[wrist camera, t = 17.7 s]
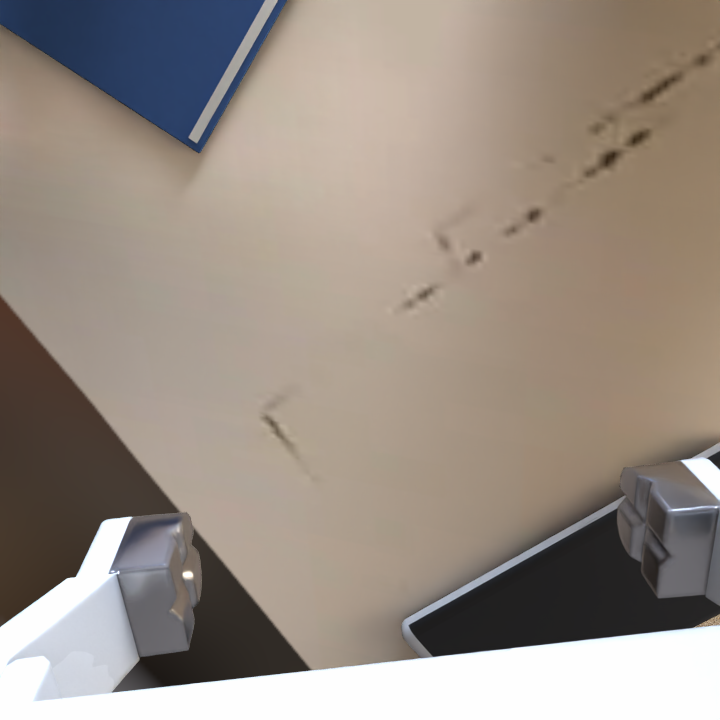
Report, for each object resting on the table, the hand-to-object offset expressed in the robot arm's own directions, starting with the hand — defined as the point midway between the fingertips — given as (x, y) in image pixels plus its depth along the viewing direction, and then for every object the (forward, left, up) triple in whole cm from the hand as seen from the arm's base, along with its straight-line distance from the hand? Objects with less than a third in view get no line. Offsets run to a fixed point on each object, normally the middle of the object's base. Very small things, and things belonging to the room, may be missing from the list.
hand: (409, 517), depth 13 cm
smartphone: (+12, +31, -28) cm, 43 cm away
